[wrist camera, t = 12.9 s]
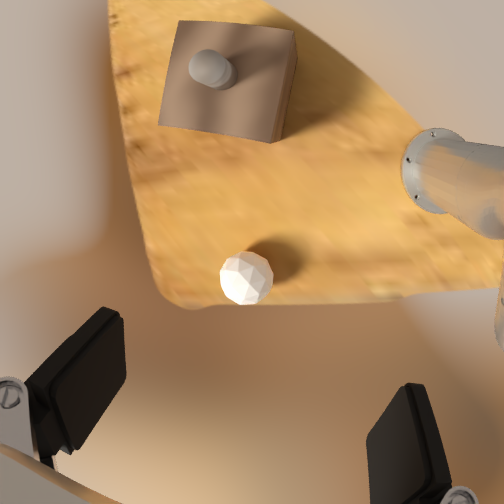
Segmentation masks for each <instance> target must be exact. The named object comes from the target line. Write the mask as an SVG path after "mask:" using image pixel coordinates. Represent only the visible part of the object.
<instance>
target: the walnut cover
mask: <svg viewBox="0 0 504 504" xmlns="http://www.w3.org/2000/svg"><path fill="white" fill-rule="evenodd" d="M296 62H297V51H296V44H295V37H294V31H291V30H285V29H279V28H272V27H265V26H257V25H249V24H239V23H227V22H212V21H179V23H178V27H177V31H176V35H175V39H174V44H173V48H172V52H171V57H170V62H169V66H168V71H167V76H166V81H165V87H164V92H163V98H162V103H161V109H160V115H159V121H158V125H160V126H168V127H176V128H183V129H190V130H197V131H204V132H210V133H216V134H222V135H228V136H234V137H239V138H244V139H250V140H255V141H260V142H265V143H270V144H271V143H274V142H278V141H280V139H281V135H282V130H283V125H284V120H285V116H286V111H287V106H288V101H289V96H290V91H291V87H292V82H293V77H294V72H295V67H296Z"/></svg>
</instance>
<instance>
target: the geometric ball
mask: <svg viewBox="0 0 504 504" xmlns="http://www.w3.org/2000/svg"><path fill="white" fill-rule="evenodd" d="M220 280H221V286H222V289H223V291H224V293H225V295H226V297H228V298H230V299H231V300H233V301H234V302H236V303H238V304H239V305H246V304H255V303H258V302H259V301H260V300H262V299H263V298H265V296H266V295H267V294H268V293H269V292H270V290H271V287H272V285H273V272H272V270H271V268H270V265H269V263H268V261H267V259H265V258H263V257H261V256H259V255H258V254H256V253H254V252H246V251H241V252H239V253H237V254H235V255H233V256H231V257H229V258H228V259H227V260H226V262H225V263H224V265H223V267H222V268H221V270H220Z"/></svg>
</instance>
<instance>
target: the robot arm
mask: <svg viewBox="0 0 504 504" xmlns="http://www.w3.org/2000/svg"><path fill="white" fill-rule="evenodd" d="M431 132H432V133H433V135H432V136H431ZM407 158H409V160H408V161H407V160H406V159H407ZM401 177H402V181H403V185H404V187H405V190H406V192H407V194H408V195H409V197H410V198H411V199H412V200H413V201H414V203H415V204H417V205H418V206H419V207H420V208H422V209H424V210H426V211H428V212H431V213H434V214H446V213H449V214H450V215H452V216H453V217H455V218H456V219H458V220H459V221H460V222H462V223H463V224H465V225H466V226H468V227H469V228H471V229H472V230H474V231H475V232H477V233H478V234H480V235H481V236H483V237H486V238H489V239H493V240H503V239H504V147H500V146H494V145H487V144H480V143H472V142H465V140H464V139H463V138H462V137H460V136H459V135H458V134H456V133H454V132H452V131H450V130H447V129H441V128H432V129H428V130H424V131H423V132H421V133H419V134H417V135H416V136H415V137H414V138H413V139H412V140H411V141H410V143H409V144H408V145H407V147H406V149H405V151H404V154H403V158H402V163H401ZM415 195H417V197H416V198H415ZM123 324H124V322H123V318H121V317H120V314H119V313H118V312H117V311H115V310H112V309H109V308H106V307H101V308H100V309H99V310H98V311H97V312H96V313H95V314H94V315H92V316H91V317H90V319H88V320H87V321H86V322H85V323H84V324H83V325H82V326H81V327H80V328H79V329H78V330H77V331H76V332H75V333H74V334H73V335H71V336H70V337H69V338H68V339H66V340H65V341H64V342H63V343H62V344H61V345H60V346H59V347H58V348H57V349H56V350H55V351H54V352H53V353H52V354H51V355H50V356H49V357H48V358H47V359H46V360H45V361H44V362H43V364H41V366H40V367H39V368H38V369H37V370H36V371H35V372H34V373H33V374H32V375H31V376H30V377H29V378H28V379H27V380H26V381H25V382H24V383H23V382H22V381H21V380H19V379H17V378H14V377H2V378H0V504H122V503H119V502H117V501H114V500H112V499H110V498H108V497H106V496H104V495H101V494H99V493H97V492H95V491H93V490H91V489H89V488H87V487H85V486H83V485H81V484H79V483H77V482H75V481H73V480H71V479H70V478H68V477H66V476H64V475H62V474H61V473H59V472H58V468H57V464H56V459H55V455H56V454H57V452H58V451H59V450H62V451H64V452H65V453H67V454H69V455H71V454H72V452H73V451H74V449H75V450H79V449H80V448H81V446H82V445H83V444H84V442H85V440H86V439H87V437H88V436H89V434H90V433H91V431H92V430H93V428H94V427H95V425H96V424H97V422H98V421H99V419H100V418H101V416H102V415H103V413H104V412H105V410H106V409H107V407H108V406H109V404H110V403H111V401H112V400H113V398H114V397H115V395H116V394H117V392H118V391H119V390H120V388H121V387H122V385H123V384H124V382H125V379H126V362H125V345H124V325H123ZM494 328H495V335H496V339H497V342H498V344H499V346H500V347H501V349H502V350H503V351H504V250H503V266H502V274H501V281H500V288H499V294H498V300H497V307H496V314H495V322H494ZM366 447H367V459H368V471H369V486H370V504H479V503H478V499H477V497H476V495H475V494H474V492H473V491H471V490H470V489H469V488H467V487H464V486H456V487H453V488H452V485H451V483H452V480H451V475H450V471H449V467H448V463H447V459H446V455H445V452H444V448H443V444H442V441H441V437H440V434H439V430H438V427H437V424H436V420H435V417H434V414H433V410H432V407H431V404H430V401H429V398H428V395H427V392H426V389H425V387H424V385H422V384H415V383H407V384H406V385H405V386H402V387H400V388H399V390H398V391H397V393H396V394H395V396H394V397H393V399H392V401H391V402H390V403H389V405H388V406H387V408H386V409H385V411H384V412H383V414H382V415H381V417H380V418H379V420H378V421H377V422H376V424H375V425H374V427H373V428H372V429H371V431H370V432H369V434H368V436H367V440H366Z"/></svg>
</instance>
